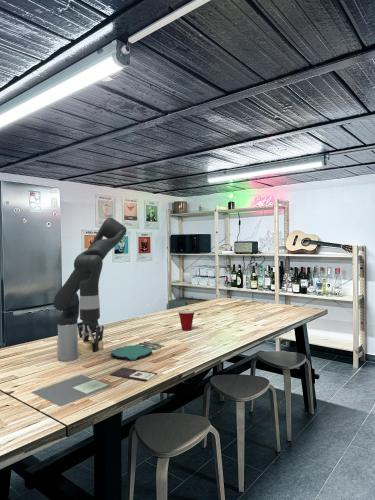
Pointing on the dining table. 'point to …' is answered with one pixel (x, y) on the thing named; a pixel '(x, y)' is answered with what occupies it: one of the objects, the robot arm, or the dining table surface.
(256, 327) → the dining table surface
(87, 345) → the oak block
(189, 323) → the plastic cup
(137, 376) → the chocolate bar
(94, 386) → the rubber mat
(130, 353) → the table tennis paddle
